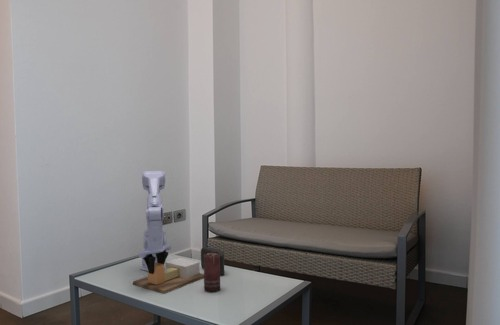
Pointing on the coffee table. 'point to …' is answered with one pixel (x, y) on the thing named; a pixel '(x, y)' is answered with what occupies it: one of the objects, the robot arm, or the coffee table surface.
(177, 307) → the coffee table surface
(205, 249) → the leaning round-cornered charcoal block
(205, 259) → the can
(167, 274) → the tan wooden l-shaped block
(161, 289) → the walnut board
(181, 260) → the block
